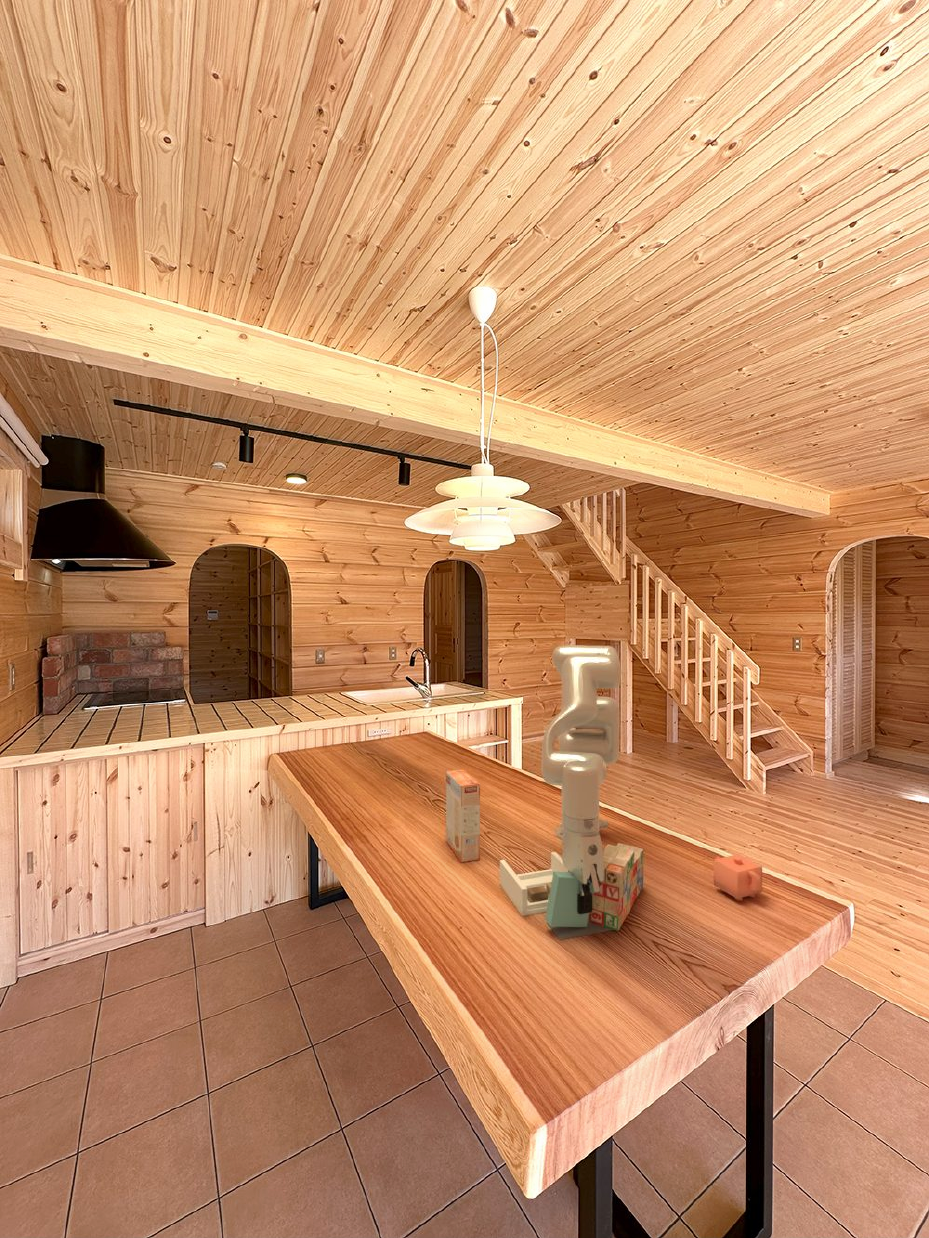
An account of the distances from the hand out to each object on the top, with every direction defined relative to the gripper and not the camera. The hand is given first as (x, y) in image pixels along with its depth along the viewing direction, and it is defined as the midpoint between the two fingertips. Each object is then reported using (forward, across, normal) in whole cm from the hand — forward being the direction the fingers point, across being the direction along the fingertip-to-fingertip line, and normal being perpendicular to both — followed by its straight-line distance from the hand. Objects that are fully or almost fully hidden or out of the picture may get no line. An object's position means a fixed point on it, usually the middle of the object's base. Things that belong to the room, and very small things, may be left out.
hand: (581, 907), depth 109 cm
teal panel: (-1, 0, -2) cm, 2 cm away
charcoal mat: (+4, 0, 0) cm, 4 cm away
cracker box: (+4, +41, +14) cm, 44 cm away
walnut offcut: (+3, +10, +5) cm, 12 cm away
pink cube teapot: (+4, +2, -42) cm, 42 cm away
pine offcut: (+3, +10, 0) cm, 11 cm away
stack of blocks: (+4, +5, -12) cm, 14 cm away
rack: (+4, +14, +3) cm, 15 cm away
